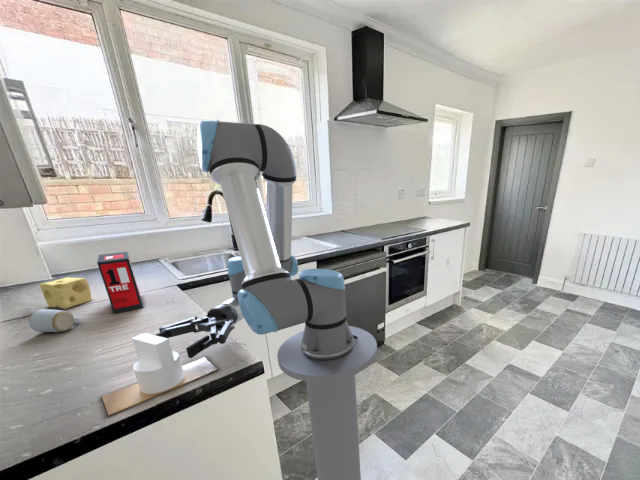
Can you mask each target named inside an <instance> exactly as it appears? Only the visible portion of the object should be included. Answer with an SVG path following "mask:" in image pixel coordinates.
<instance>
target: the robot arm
mask: <svg viewBox="0 0 640 480" xmlns="http://www.w3.org/2000/svg"><path fill="white" fill-rule="evenodd" d="M197 155H198V162H199V167H200V170H201V171H202V172H205V173H209V174H210V178H211V181H213V182H214V183H215V184H217V185H220V189H221V192H222V196H223V199H224V203H225V207H226V210H227V213H228V218H229V221H230V224H231V228H232V231H233V234H234V235H233V236H234V238H235V242H236V245H237V249H238V253H239V256H234V257H231V258H229V259H228V260H227V261H226V267H227V275H228V278H229V284H230V288H231V295H232V297H231V298H229V299H227V300H225V301H224V302H222V303H220V304H218V305H216V306H214V307H212V308H210V309H209V310H208V312H207V314H206V315H205V316H202V317H201V318H198V316H197V315H194V316H191V317H189V318H186V319H183V320H180V321H176V322H174V323H170V324H167V325H164V326H159V327H158V330H159V332H158V333H156V334H155V335H156V336H160V337H164V338H168V339H170V338H173V337H177V336H181V335H186V334H190V333H193V334H198V333H201V332H206V333H209V335H205V336H204V337H201V338H200V339H198V340H196V341H195V342H194V343H192V344H190V345H189V346H187V347H186V348H185V350H186V354H187V357H188V359H192V358H194V357H195V356H197V355H198V354H200V353H202V352H203V351H204V350H206V349H208V348H210V347H211V346H213V345H217V344H218V343H219V344H220V345H223V344H225V343H226V341H228V340H227V339H228V338H229V336H230V333H231V332H232V331H233V330H234V329H235V325H236V324H237V323H239V322H240V321H242V320H243V319H244V320H245V322H246V324H247V325H248V327H249V328H250V330H251V331H252V332H253V333H255V334H257V335H266V334H271V333H277V332H278V331H282V330H286V329H288V328H291V327H294V326H299V325H302V324H304V329H303V331H304V333H303V337H302V342H301V350H302V353H303V355H304V356H305V357H307V358H309V359H312V360H317V361H329V360H335V359H338V358H341V357H344V356H345V355H347V354H349V353H350V352H351V351H352V350H353V348H354V339H358V337H357V336H354V335H352V333H351V330H350V328H349V326H350V325H349V323H348V319H347V304H346V286H345V285H346V284H345V279H344V276H343V274H342V273H340V272H339V271H336V270H333V269H329V268H307V269H303V270H301V271H300V272H299V265H298V264H299V263H298V260H297V258H296V257H295V256H294V255H292V231H293V230H292V227H293V226H292V225H293V223H292V222H293V188H294V187H293V186H294V185H293V184H295V182H297V164H296V160H295V157H294V154H293V151H292V150H291V148H290V146H289V144H288V142H287V141H286V140H285V138H284V137H283V135H281V134H280V133H279V132H278V131H277V130H276V129H274V128H272V127H270V126H268V125H266V124H261V123H246V122H245V123H243V122H232V121H231V122H230V121H220V120H219V119H216V120H208V119H207V120H206V119H205V120H201V121H200V122H199V123H198V126H197ZM260 177H261V178H262V179H263V180H264V181H265V201H266V202H265V203H266V204H265V205H266V209H265V206H264V203H263V202H264V201H263V198H262V196H261V192H260V188H259V185H258V182H257V180H258V179H259V178H260ZM298 272H299V273H298ZM297 274H299V275H298V277H299V278H295V279H292V277H294V276H296V275H297ZM196 327H197V328H196Z"/></svg>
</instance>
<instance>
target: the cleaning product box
mask: <svg viewBox="0 0 640 480" xmlns="http://www.w3.org/2000/svg"><path fill="white" fill-rule="evenodd" d="M96 263H97V267H98V270H99V273H100V276H101V279H102V282H103V285H104V287H105V291H106V293H107V297H108V299H109V302H110V305H111V309H112V311H113V314H118V313H123V312H128V311H134V310H138V309H142V308H144V305H143V301H142V296H141V293H140V290H139V285H138V282H137V279H136V276H135V273H134V270H133V266H132V263H131V259H130V256H129V253H128V251H121V252H120V251H119V252H112V253H103V254H98V257H97V260H96Z"/></svg>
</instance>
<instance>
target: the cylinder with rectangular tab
mask: <svg viewBox="0 0 640 480" xmlns="http://www.w3.org/2000/svg"><path fill="white" fill-rule="evenodd" d="M131 341H132V344H133V348H134V351H135V353H136V357H137V360H138V361H136V362H135V363H134V364H133V366H132V369H133V372H134V375H135V378H136V380H137V383H138V384H139V387H140V390H141V392H143V393H146V394H154V393H159V392H163V391H166V390H168V389H171V388H173V387H175V386H176V385H178V384H179V383H180V382H181V381H182V380H183V379H184V372H183V368H182V366H183V365H182V361H181V358H180V354H179V353H178V352H177V351H174V350H173V349H172V346H171V342H170V338H164V337H160V336H156V334H151V333H148V332H143V333H139V334H137V335H135V336H133V337H131Z"/></svg>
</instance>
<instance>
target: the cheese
mask: <svg viewBox="0 0 640 480" xmlns="http://www.w3.org/2000/svg"><path fill="white" fill-rule="evenodd" d="M39 287H40V290H41V292H42V295H43V298H44V300H45V302H46V304H47V306H48V308H59V309H62V310H66V309H70V308H72V307H74V306H78V305H82V304H85V303H88V302H92V300H93V299H92V291H91V286H90V284H89V282H88V281H87V279H86V277H69V276H68V277H62V278H59V279H55V280H51V281H48V282H47V281H46V282H43V283H40V284H39Z"/></svg>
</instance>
